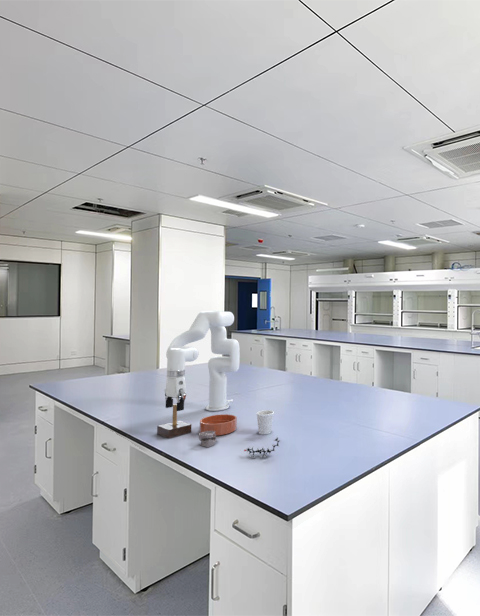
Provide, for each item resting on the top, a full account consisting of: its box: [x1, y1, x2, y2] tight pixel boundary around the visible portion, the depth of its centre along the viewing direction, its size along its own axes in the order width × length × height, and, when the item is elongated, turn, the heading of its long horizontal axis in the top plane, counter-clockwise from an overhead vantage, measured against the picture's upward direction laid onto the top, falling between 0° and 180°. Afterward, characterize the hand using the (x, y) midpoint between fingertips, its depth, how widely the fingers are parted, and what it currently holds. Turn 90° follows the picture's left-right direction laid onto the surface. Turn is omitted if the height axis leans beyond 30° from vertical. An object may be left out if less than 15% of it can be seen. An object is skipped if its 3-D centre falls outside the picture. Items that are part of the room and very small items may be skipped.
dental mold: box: [198, 431, 217, 448], centre depth 170 cm, size 8×7×5 cm
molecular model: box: [243, 436, 282, 458], centre depth 157 cm, size 6×15×8 cm, turn 96°
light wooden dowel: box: [172, 403, 178, 426], centre depth 182 cm, size 2×2×14 cm
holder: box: [156, 420, 192, 439], centre depth 182 cm, size 11×11×4 cm
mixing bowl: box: [198, 413, 238, 437], centre depth 187 cm, size 17×17×6 cm
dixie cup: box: [255, 409, 275, 435], centre depth 187 cm, size 8×8×10 cm
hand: (174, 408), depth 182 cm, fingers open, 9 cm apart
